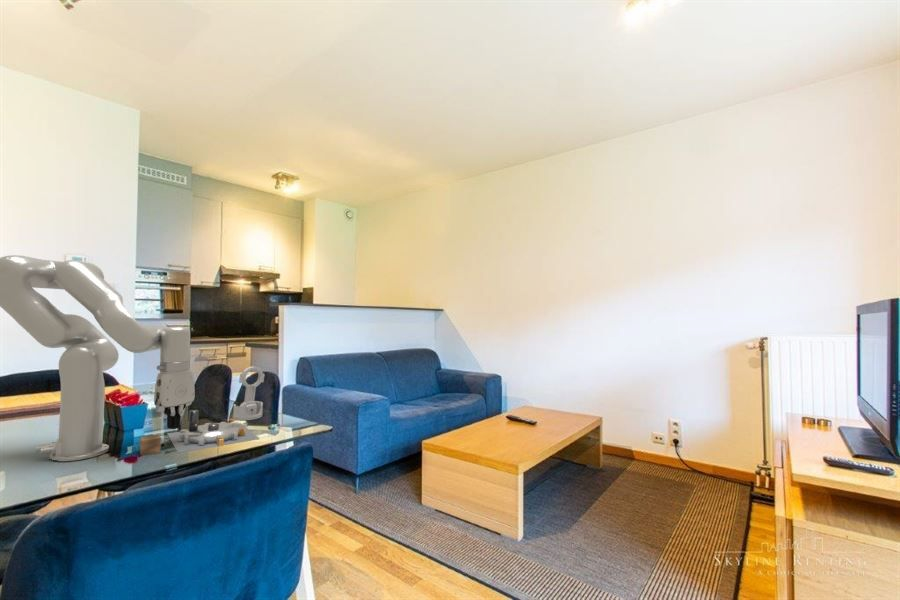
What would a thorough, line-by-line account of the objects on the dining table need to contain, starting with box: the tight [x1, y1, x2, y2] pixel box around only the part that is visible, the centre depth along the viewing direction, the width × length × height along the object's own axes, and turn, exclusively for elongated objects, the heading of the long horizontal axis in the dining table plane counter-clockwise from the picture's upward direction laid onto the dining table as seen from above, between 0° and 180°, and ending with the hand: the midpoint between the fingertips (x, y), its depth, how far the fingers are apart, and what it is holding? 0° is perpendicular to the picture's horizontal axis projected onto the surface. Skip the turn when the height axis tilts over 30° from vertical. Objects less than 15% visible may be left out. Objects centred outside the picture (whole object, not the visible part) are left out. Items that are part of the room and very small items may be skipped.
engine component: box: [232, 365, 265, 421], centre depth 159 cm, size 11×20×10 cm
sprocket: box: [178, 409, 247, 445], centre depth 134 cm, size 19×19×8 cm
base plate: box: [166, 422, 260, 454], centre depth 134 cm, size 22×23×3 cm
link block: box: [139, 433, 162, 456], centre depth 118 cm, size 4×4×6 cm
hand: (173, 427), depth 126 cm, fingers closed
